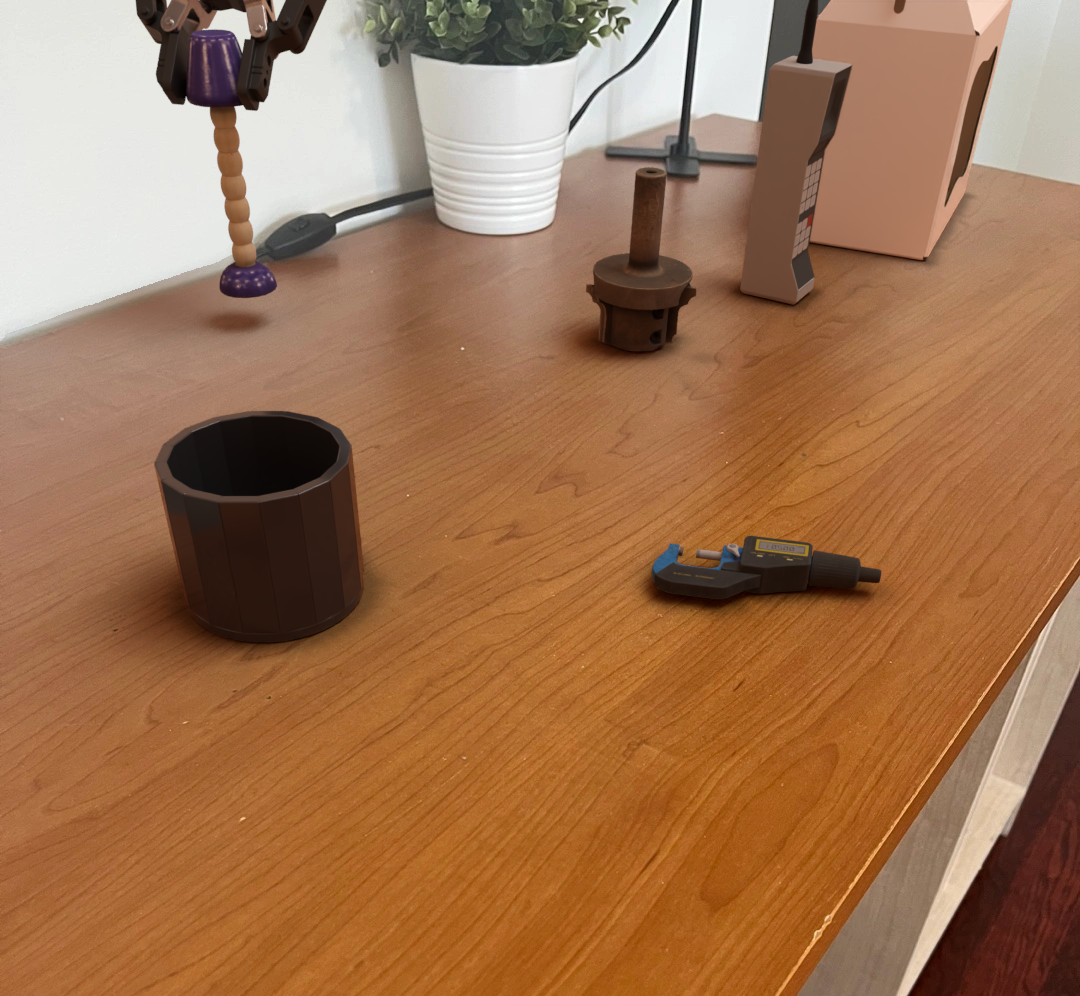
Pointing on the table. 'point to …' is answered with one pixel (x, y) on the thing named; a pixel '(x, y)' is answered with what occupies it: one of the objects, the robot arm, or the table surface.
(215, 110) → the toy lamp
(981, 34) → the gable box
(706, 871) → the table surface
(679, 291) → the industrial component
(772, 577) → the micrometer
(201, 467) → the holder
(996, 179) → the table surface
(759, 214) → the vintage mobile phone
